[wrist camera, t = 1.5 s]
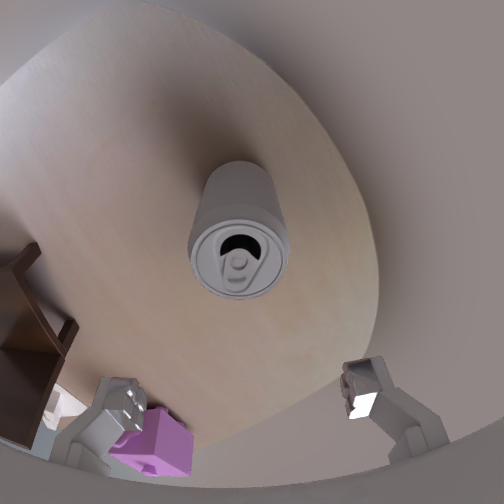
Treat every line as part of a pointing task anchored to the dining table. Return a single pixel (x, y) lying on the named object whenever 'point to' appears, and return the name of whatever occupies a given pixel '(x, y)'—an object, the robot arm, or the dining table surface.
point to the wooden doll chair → (26, 353)
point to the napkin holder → (61, 407)
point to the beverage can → (239, 233)
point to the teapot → (156, 446)
